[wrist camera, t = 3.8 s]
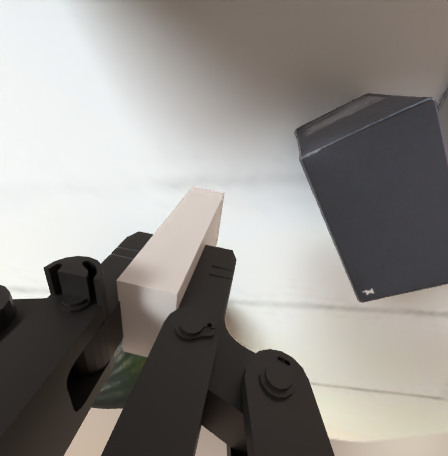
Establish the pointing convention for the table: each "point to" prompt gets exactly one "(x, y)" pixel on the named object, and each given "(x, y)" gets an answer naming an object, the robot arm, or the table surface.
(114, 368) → the squash
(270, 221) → the table surface
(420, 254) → the small box
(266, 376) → the robot arm
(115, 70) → the table surface
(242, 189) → the table surface
